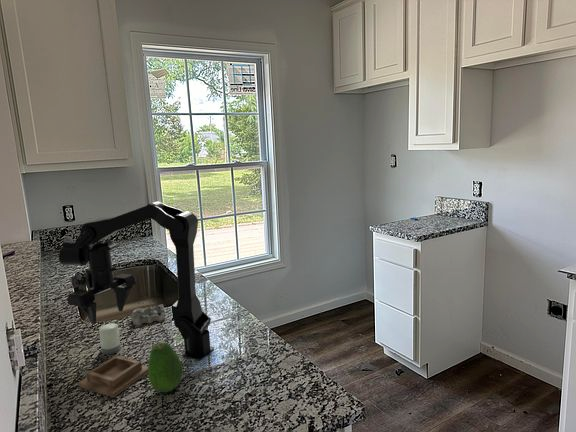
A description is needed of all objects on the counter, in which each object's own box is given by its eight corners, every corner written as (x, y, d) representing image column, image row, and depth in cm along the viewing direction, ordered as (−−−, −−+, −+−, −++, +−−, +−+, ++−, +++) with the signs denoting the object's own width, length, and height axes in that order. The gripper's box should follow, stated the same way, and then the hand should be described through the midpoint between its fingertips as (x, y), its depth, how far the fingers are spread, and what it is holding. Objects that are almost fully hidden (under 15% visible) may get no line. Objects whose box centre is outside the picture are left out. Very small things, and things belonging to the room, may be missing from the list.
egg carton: (132, 327, 129) (130, 315, 128) (132, 318, 136) (131, 307, 135) (166, 321, 132) (164, 309, 132) (164, 312, 139) (163, 301, 139)
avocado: (144, 390, 94) (139, 344, 92) (174, 376, 99) (169, 332, 97) (160, 405, 88) (154, 356, 86) (191, 389, 94) (186, 342, 92)
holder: (151, 370, 102) (149, 360, 102) (113, 397, 92) (112, 386, 91) (117, 361, 108) (116, 351, 107) (78, 386, 97) (76, 375, 96)
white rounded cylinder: (124, 347, 115) (122, 325, 114) (110, 356, 111) (107, 332, 110) (112, 344, 117) (109, 322, 116) (97, 352, 113) (94, 330, 112)
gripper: (107, 253, 121) (113, 301, 124) (49, 272, 105) (58, 327, 107) (134, 256, 117) (140, 306, 119) (78, 276, 100) (86, 333, 103)
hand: (107, 317), depth 112 cm, fingers open, 9 cm apart
